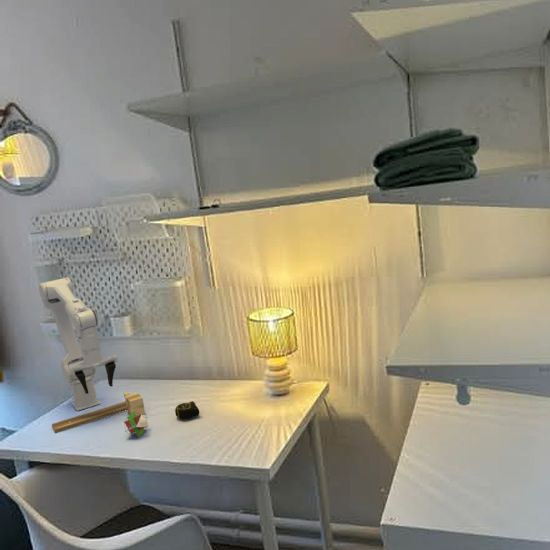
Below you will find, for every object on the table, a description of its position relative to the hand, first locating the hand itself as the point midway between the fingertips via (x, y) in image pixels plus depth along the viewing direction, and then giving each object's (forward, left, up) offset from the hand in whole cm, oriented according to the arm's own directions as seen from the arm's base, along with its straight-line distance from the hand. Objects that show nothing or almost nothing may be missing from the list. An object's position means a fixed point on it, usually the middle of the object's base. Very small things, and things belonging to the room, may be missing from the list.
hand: (98, 389), depth 191 cm
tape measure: (+21, +21, -10) cm, 31 cm away
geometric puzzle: (+22, +5, -10) cm, 24 cm away
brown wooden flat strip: (-2, -1, -9) cm, 10 cm away
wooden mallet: (+3, +9, -9) cm, 13 cm away
